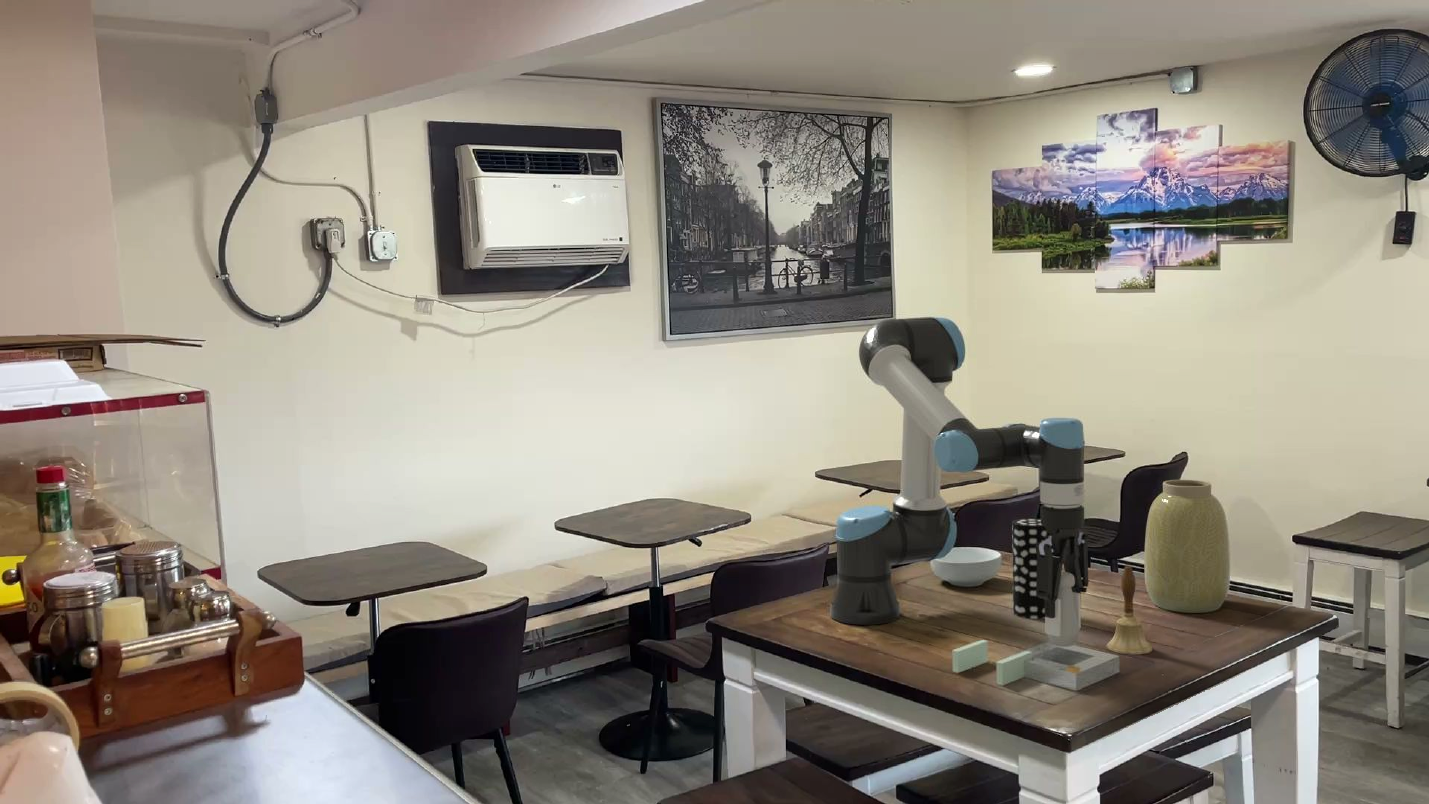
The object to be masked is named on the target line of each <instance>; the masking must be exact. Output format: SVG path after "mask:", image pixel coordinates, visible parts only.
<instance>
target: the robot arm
mask: <svg viewBox="0 0 1429 804" xmlns="http://www.w3.org/2000/svg"><path fill="white" fill-rule="evenodd" d="M858 348H859V349H858V357H859V362H860V365H861V369H862V370H863V372H864V373H865V374H866V376H867V377H868V378H869V379H870V380H871V382H872V383H874V385H877V386H880V387H883V388H885V390H886V391H888V393H889V394H890V395H891V396H892V398H894V399H895V400H896V401H897V403H898V404H900V406H901V407H902V409H903V415H902V417H903V418H902V439H901V440H902V443H901V444H902V445H901V446H902V447H901V466H900V467H901V472H900V493H899V494H898V495H897V496H895V497H893V500H892V501H893V502H892V511H890V509H889V508H888V507H886V506H882V505H869V506H868V505H866V506H865V505H864V506H860V507H859V506H858V507H854V508H851V509H849V510H845V511H844V512H842V513H841V514H840V515H839V516H838V518H837V520H836V527H835V528H836V529H835V538H836V563H837V582H836V584H835V589H834V592H833V596H832V601H831V603H830V604H829V605H830V609H829V612H830V618H832V619H834V620H835V621H836V622H837V621H838V622H842V623H845V624H849V625H850V624H851V625H862V626H863V625H864V626H865V625H867V626H868V625H882V624H887V623H891V622H893V621H896V620H898V619H899V618H900V617H901V606H900V602H899V601H898V599H897V594H896V592H895V589H894V586H893V582H892V581H893V580H892V566H897V565H904V564H911V563H921V562H930V561H932V560H934V559H939V558H943V557H945V556H946V555H947V554H948V553H949V552H950V551H951V549H952V548H954V545H955V543H956V539H957V529H958V528H957V523H956V521H955V515H954V513H953V511H951V510H950V509H949V508H948V506H947V502H946V500H945V499H944V498H943V497H942V496H941V479H942V478H941V476H942V470H943V471H944V472H947V473H969V472H975V471H984V470H985V471H987V470H991V469H1005V468H1014V467H1015V468H1016V467H1031V468H1033V467H1034V468H1037V469H1039V470H1040V472H1039V473H1040V475H1039V476H1040V478H1039V479H1040V481H1039V482H1040V483H1039V485H1040V486H1039V491H1040V492H1039V501H1040V502H1041V506H1040V519H1041V525H1042V526H1044V527H1045V528H1046V529H1047V531H1046V536H1045V541H1044V542H1042V543H1036V545H1035V548H1036V553H1037V579H1036V596H1037V597H1039V598H1043V599H1044V604H1045V618H1044V625H1045V626H1044V634H1046V635H1047V634H1049V635H1054V636H1058V637H1059V636H1061V600H1058V599H1057V598H1058V591H1059V585H1060V579H1061V572H1063V569H1064V572H1068V573H1071V574H1072V575H1073V576H1074V578H1075V584H1074V586H1073V587H1071V589H1072V594H1073V599H1074V604H1075V610H1076V615H1077V620H1078V626H1079V630H1080V629H1081V628H1082V627H1081V626H1082V624H1081V617H1082V616H1081V615H1082V612H1081V607H1082V605H1081V604H1082V603H1081V602H1082V601H1081V600H1082V594H1083V593H1084V594H1085V593H1087V591H1088V588H1087V587H1089V560H1088V559H1089V558H1088V557H1089V556H1088V544H1089V539H1090V538H1089V537H1090V535H1089V533H1085V532H1080V529H1081V528H1082V527H1084V525H1085V507H1084V506H1083V505H1082V504H1083V503H1085V489H1084V488H1085V484H1084V480H1085V444H1086V443H1085V435H1084V425H1083V422H1082V421H1081V420H1080V419H1077V418H1075V417H1074V418H1073V417H1069V418H1068V417H1048V418H1044V419H1042V420H1041V421H1040V422H1039V426H1035V425H1029V424H1026V423H1008V424H1005V425H1004V426H1002V427H987V428H978V427H976V426H975V425H974V424H973V422H971V421H970V420H969V419H968V418H967V417H966V416H965V415H964V413H963V412H962V411H961V410H960V409H958V407H956V405H954V404H953V402H952V401H951V400H950V399H949V398H948V397H947V396H946V395H945V392H946V391H945V389H946V388H947V387H948V386H949V385H950V384H952V382H953V376H954V375H953V372H956V371H957V370H959V369H960V368H961V367H962V366H963V363H964V361H965V358H966V344H965V339H964V336H963V333H962V331H961V329H959V326H958V325H957V324H956V323H955V322H954V321H953V320H951V319H950V318H945V317H935V316H926V317H924V316H923V317H907V318H887V319H884V320H880V321H878V322H876V323H874V324H873V325H872V326H870V327H869V328H868V329H867V330H866V332H865V333H864V335H863V337H862V338H861V341H860V344H859V347H858ZM1052 555H1053V556H1052Z"/></svg>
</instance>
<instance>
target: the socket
mask: <svg viewBox="0 0 1429 804" xmlns="http://www.w3.org/2000/svg"><path fill="white" fill-rule="evenodd" d="M1024 651H1029V652H1032V658H1029V659H1027V660H1024V677H1023V678H1025V679H1026V678H1027V679H1030V680H1035V681H1036V682H1037V681H1038V682H1042V683H1046V684H1049V685H1053V686H1056V687H1060V688H1064V689H1068V690H1070V691H1073V692H1074V691H1075V692H1077V691H1079V690H1082V689H1084V688H1086V687H1088V686H1091V685H1093V684H1095V683H1098V682H1100V681H1103V680H1104V679H1107V678H1109V677H1111V676H1114V675H1116V674H1118V673H1120V655H1116V654H1113V653H1108V652H1103V651H1100V650H1096V649H1091V648H1087V647H1084V646H1083V647H1082V646H1079V645H1075V644H1074V645H1072V646H1069V647H1064V646H1056V645H1053V644H1051V642H1050V640H1048V641H1045V642H1043V643H1039V644H1037V645H1035V646H1032V647H1028V648H1027V649H1024V650H1021V651H1019V652H1015V653H1013V654H1010V655H1008V656H1007V658H1008V657H1011V656H1014V655H1016V654H1019V653H1022V652H1024Z"/></svg>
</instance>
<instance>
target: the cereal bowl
mask: <svg viewBox="0 0 1429 804" xmlns="http://www.w3.org/2000/svg"><path fill="white" fill-rule="evenodd" d="M929 562H930V567H931V569H932V572H933V574H935V576H936V577H938V578H939V579H941V580H943V581H946V582H948V583H949V584H950V585H952V586H957V587H969V588H970V587H976V586H977V587H978V586H981V585H983V584H984V583H985V582H986V581H990V580H991V579H993V578H995V576H997V575H998V573H999V572H1000V569H1001V566H1002V554H1001V552H999V551H997V550H993V549H988V548H983V547H981V548H980V547H970V546H969V547H968V546H967V547H953V548H952V549H951V551H950V552H949V553H948V554H947V555H946V556H945V557H943V558H939V559H934V560H932V561H929Z"/></svg>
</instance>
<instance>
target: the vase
mask: <svg viewBox="0 0 1429 804" xmlns="http://www.w3.org/2000/svg"><path fill="white" fill-rule="evenodd" d="M1144 539H1145V541H1144V558H1143V559H1144V584H1145V587H1146V591H1147V593H1148V595H1149V597H1150V599H1151V601H1152V603H1153V604H1154V605H1155V606H1156V607H1159V608H1161V609H1163V610H1167V611H1172V612H1176V613H1177V612H1178V613H1184V614H1185V613H1187V614H1201V613H1202V614H1203V613H1204V614H1205V613H1211V612H1216V611H1217V610H1219V609H1220V608H1221V606H1222V605H1223V604H1224V603H1225V600H1226V599H1227V596H1228V593H1229V590H1230V582H1231V552H1230V551H1231V550H1230V549H1231V548H1230V534H1229V527H1228V521H1227V515H1226V512H1225V509H1224V507H1223V505H1222V503H1221V501H1219V500H1218V498H1217V497H1216V496H1215V495H1213V494H1212V484H1211V483H1210V482H1208V481H1204V480H1197V479H1170V480H1165V481H1163V482H1162V492H1161V493H1159V494H1158V496H1156V498H1155V499H1154V500H1153V501H1152V504H1151V505H1150V508H1149V512H1148V515H1147V521H1146V526H1145V538H1144Z"/></svg>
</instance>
